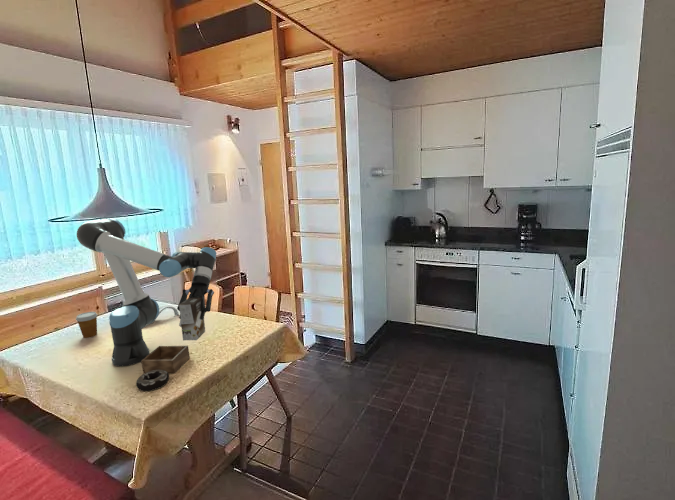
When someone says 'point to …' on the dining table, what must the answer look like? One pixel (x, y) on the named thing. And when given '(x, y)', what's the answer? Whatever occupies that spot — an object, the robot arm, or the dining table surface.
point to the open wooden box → (166, 359)
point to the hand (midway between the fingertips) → (189, 326)
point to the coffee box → (191, 319)
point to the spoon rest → (165, 308)
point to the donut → (152, 380)
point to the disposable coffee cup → (88, 324)
